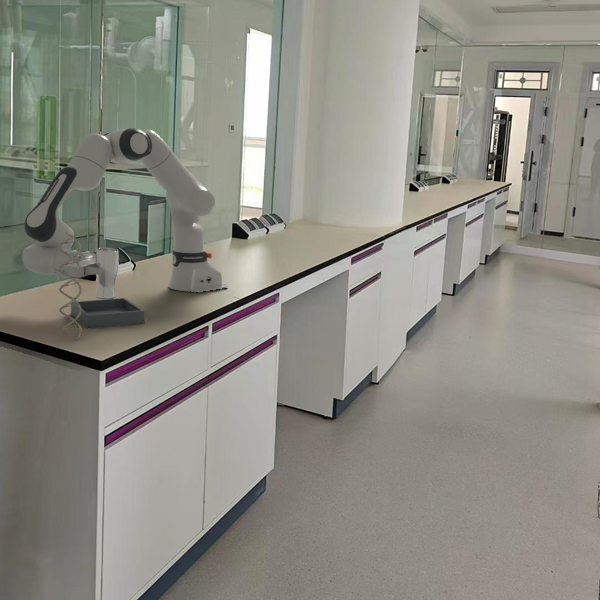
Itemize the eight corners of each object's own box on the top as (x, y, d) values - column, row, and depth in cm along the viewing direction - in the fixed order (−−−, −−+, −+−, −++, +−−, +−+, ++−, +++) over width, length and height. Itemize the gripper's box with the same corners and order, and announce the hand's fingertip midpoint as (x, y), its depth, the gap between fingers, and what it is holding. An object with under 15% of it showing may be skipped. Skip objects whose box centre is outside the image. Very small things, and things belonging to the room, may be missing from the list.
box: (124, 309, 241) (124, 297, 240) (144, 323, 227) (144, 310, 226) (70, 314, 231) (70, 301, 230) (88, 328, 217) (88, 315, 216)
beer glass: (92, 294, 229) (94, 247, 226) (115, 294, 232) (117, 247, 228) (94, 299, 223) (96, 251, 219) (118, 299, 225) (120, 251, 222)
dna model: (54, 336, 207) (53, 232, 200) (75, 333, 212) (74, 231, 205) (65, 342, 203) (64, 235, 196) (86, 339, 207) (86, 234, 200)
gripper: (50, 259, 218) (90, 264, 215) (88, 249, 237) (126, 254, 234) (50, 279, 220) (90, 285, 216) (88, 268, 239) (125, 274, 235)
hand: (109, 269), depth 225 cm, fingers closed on beer glass, 6 cm apart
